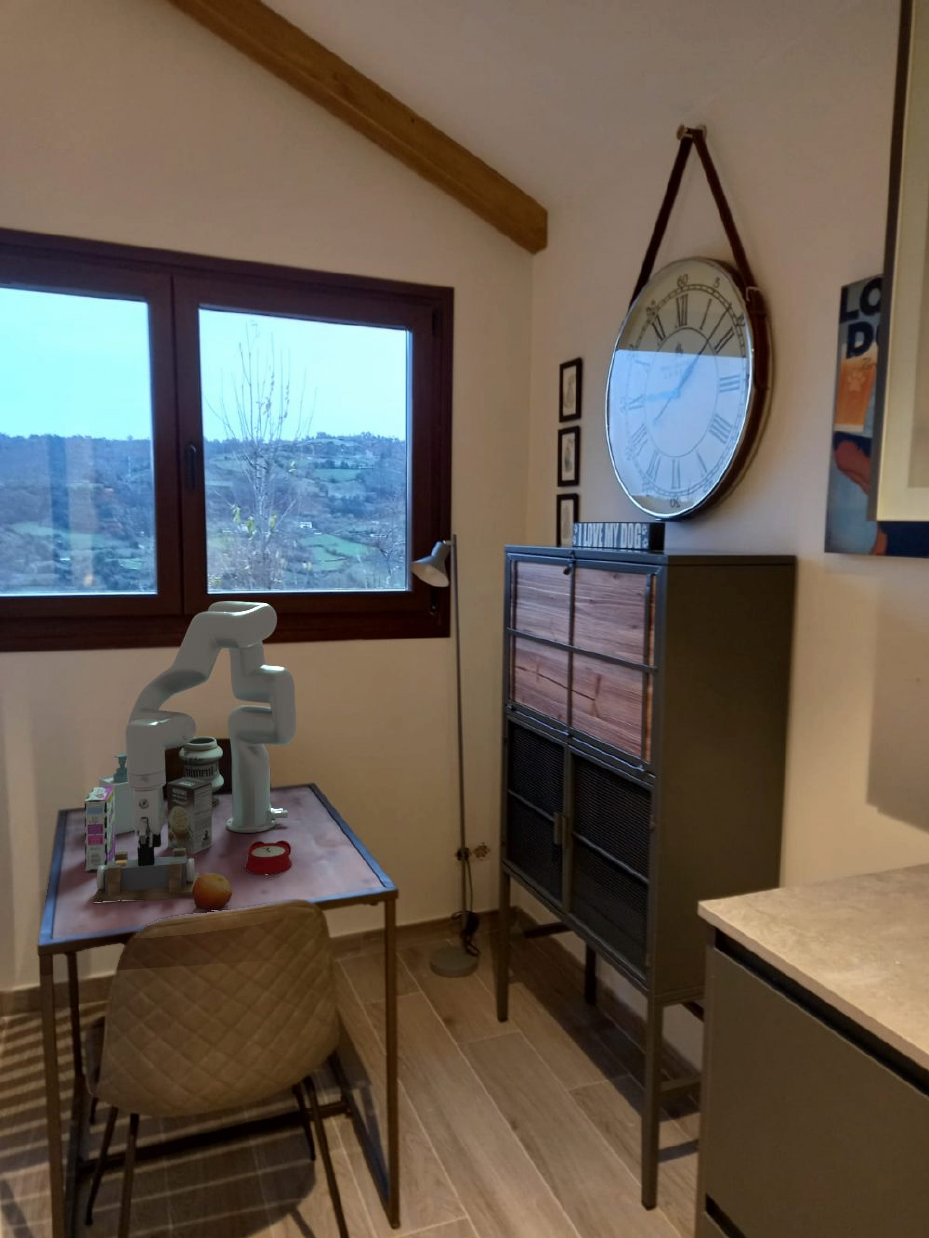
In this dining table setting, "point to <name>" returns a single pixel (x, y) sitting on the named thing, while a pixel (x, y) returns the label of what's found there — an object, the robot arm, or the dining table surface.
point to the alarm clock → (268, 857)
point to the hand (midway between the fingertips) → (150, 855)
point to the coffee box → (189, 814)
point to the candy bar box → (99, 827)
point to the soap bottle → (121, 797)
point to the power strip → (146, 873)
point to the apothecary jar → (203, 762)
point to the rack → (147, 894)
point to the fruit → (211, 892)
